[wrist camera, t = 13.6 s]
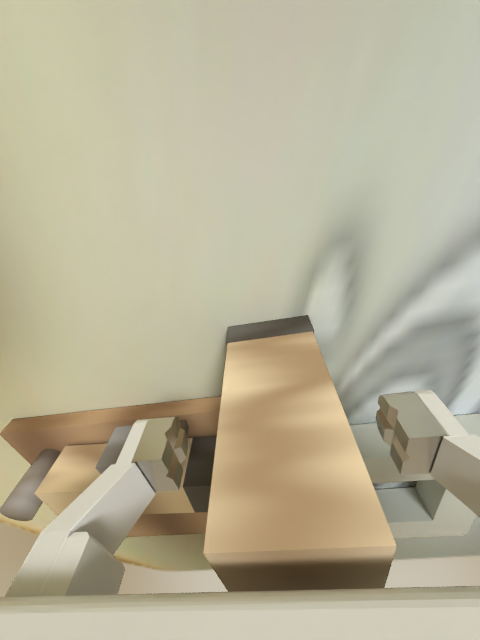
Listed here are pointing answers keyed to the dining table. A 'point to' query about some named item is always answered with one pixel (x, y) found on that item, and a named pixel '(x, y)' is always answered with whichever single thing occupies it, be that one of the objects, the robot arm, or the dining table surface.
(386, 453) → the socket
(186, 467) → the leg bar
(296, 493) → the leg peg
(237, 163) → the dining table surface
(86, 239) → the dining table surface
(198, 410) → the board
